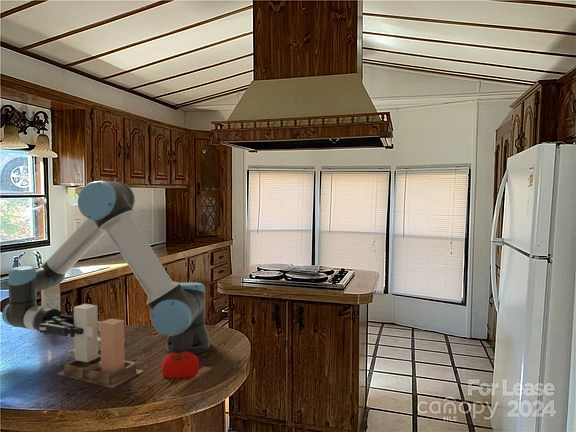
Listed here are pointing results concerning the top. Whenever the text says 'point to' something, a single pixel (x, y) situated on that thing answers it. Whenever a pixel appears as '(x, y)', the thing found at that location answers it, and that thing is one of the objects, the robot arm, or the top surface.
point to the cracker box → (51, 297)
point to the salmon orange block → (112, 345)
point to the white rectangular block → (83, 344)
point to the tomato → (180, 365)
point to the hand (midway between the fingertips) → (99, 329)
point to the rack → (98, 372)
